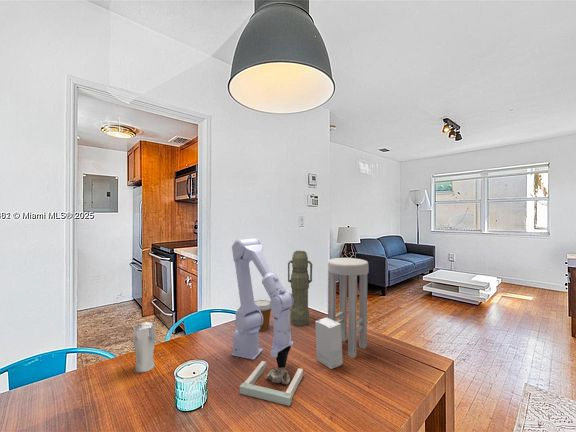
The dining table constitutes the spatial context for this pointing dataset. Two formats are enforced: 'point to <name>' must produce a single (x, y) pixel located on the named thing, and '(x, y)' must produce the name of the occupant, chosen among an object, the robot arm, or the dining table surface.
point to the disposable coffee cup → (264, 313)
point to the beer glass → (144, 346)
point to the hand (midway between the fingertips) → (281, 367)
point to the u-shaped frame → (267, 393)
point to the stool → (349, 299)
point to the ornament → (278, 375)
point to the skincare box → (329, 342)
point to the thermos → (300, 288)
